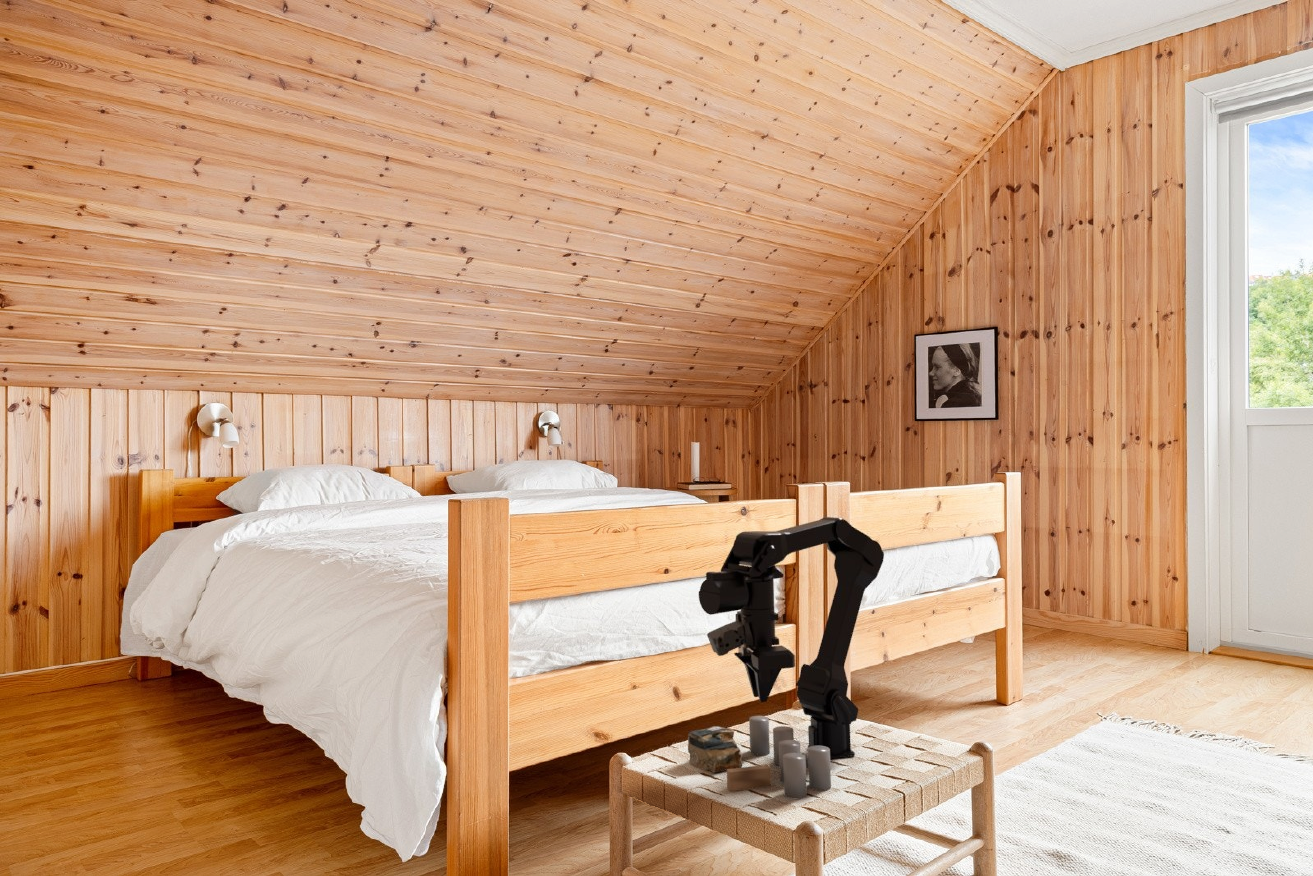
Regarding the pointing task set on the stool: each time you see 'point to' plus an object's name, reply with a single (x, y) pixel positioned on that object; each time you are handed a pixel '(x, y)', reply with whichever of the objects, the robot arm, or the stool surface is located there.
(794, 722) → the stool surface
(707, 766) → the rock
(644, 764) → the stool surface
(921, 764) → the stool surface
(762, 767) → the bar
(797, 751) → the spacers
